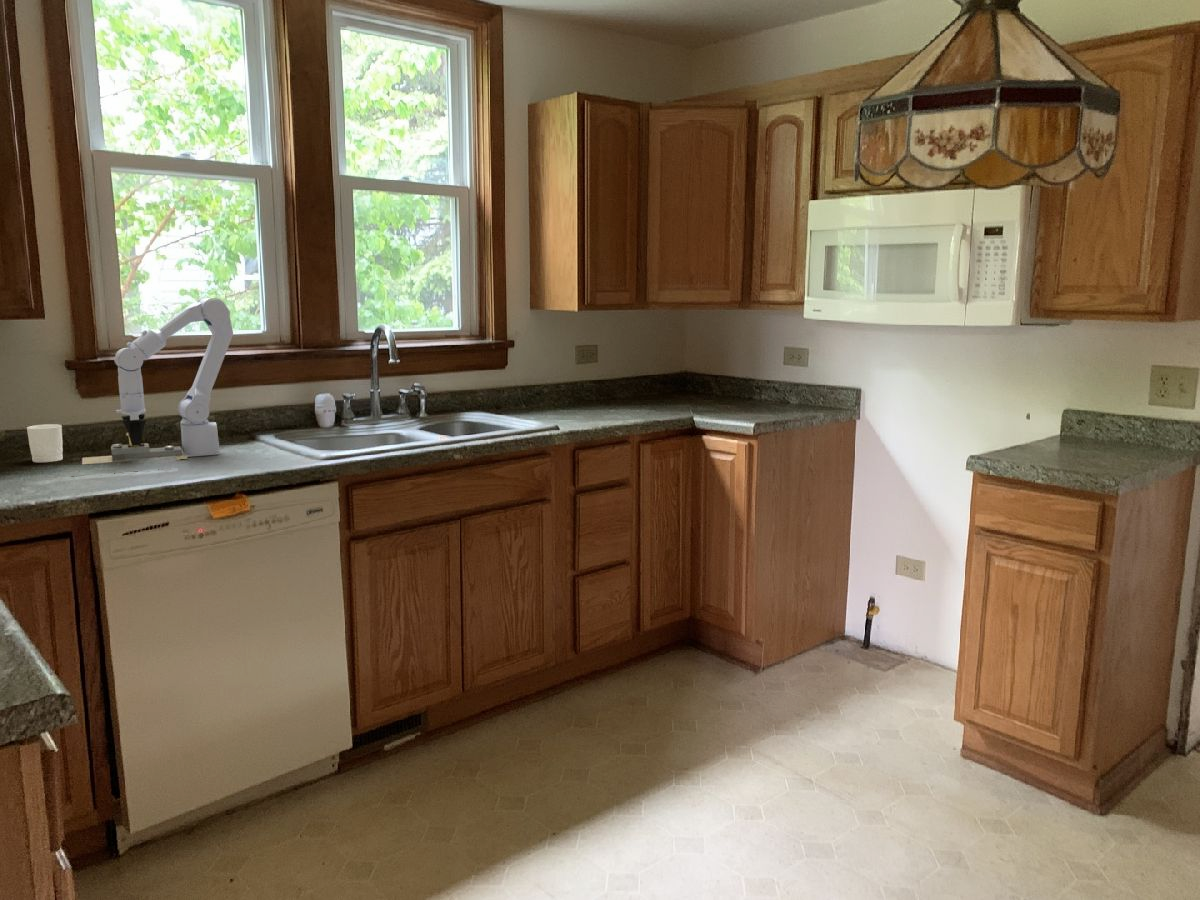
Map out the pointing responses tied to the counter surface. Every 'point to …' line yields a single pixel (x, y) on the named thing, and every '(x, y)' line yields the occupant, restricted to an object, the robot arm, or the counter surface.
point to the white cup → (45, 442)
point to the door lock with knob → (137, 454)
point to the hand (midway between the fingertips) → (136, 443)
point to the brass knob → (130, 441)
